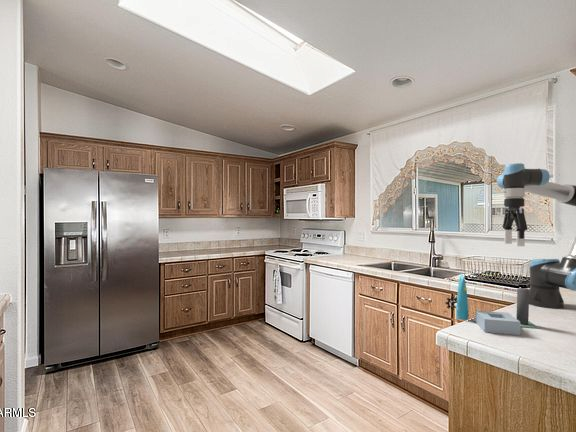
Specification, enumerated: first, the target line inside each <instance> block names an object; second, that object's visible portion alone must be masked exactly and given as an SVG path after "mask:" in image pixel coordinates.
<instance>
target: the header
mask: <svg viewBox="0 0 576 432" xmlns="http://www.w3.org/2000/svg"><path fill="white" fill-rule="evenodd" d="M474 313H475V316H474V317H475V323H476V324H477V326H478V327H479V328H480V330H482V331H483V333H489V332H490V333H491V334H501V333H504V334H503V335H515V336H521V327H520V321H519V320H517V319H516V318H517V317H515V316H513V315H512V314H510V313H509V312H505V311H502V312H501V311H490V310H489V311H487V310H477V309H476V310H475V312H474Z"/></svg>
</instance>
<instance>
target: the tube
mask: <svg viewBox="0 0 576 432" xmlns="http://www.w3.org/2000/svg"><path fill="white" fill-rule="evenodd" d="M459 275H460V276H459V280H458V287H457V294H456V295H457V296H456V298H457V300H456V301H457V307H456V308H455V309H456V310H455V311H456V312H455V318H456V319H457V320H461V321H468V320H469V318H470V317H468V313H469V312H468V302H469V301H468V292H467V291H468V290H467V285H466V279H465V275H464V274H463V273H460V274H459Z"/></svg>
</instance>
